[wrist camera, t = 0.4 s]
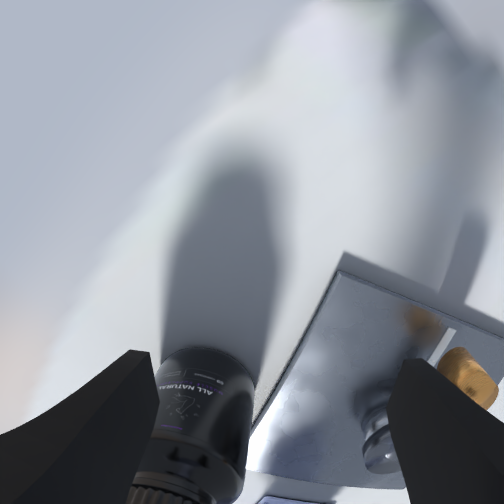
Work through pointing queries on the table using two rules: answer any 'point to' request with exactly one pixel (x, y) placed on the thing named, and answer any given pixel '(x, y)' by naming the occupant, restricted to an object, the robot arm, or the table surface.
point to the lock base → (354, 382)
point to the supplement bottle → (197, 431)
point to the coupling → (460, 374)
